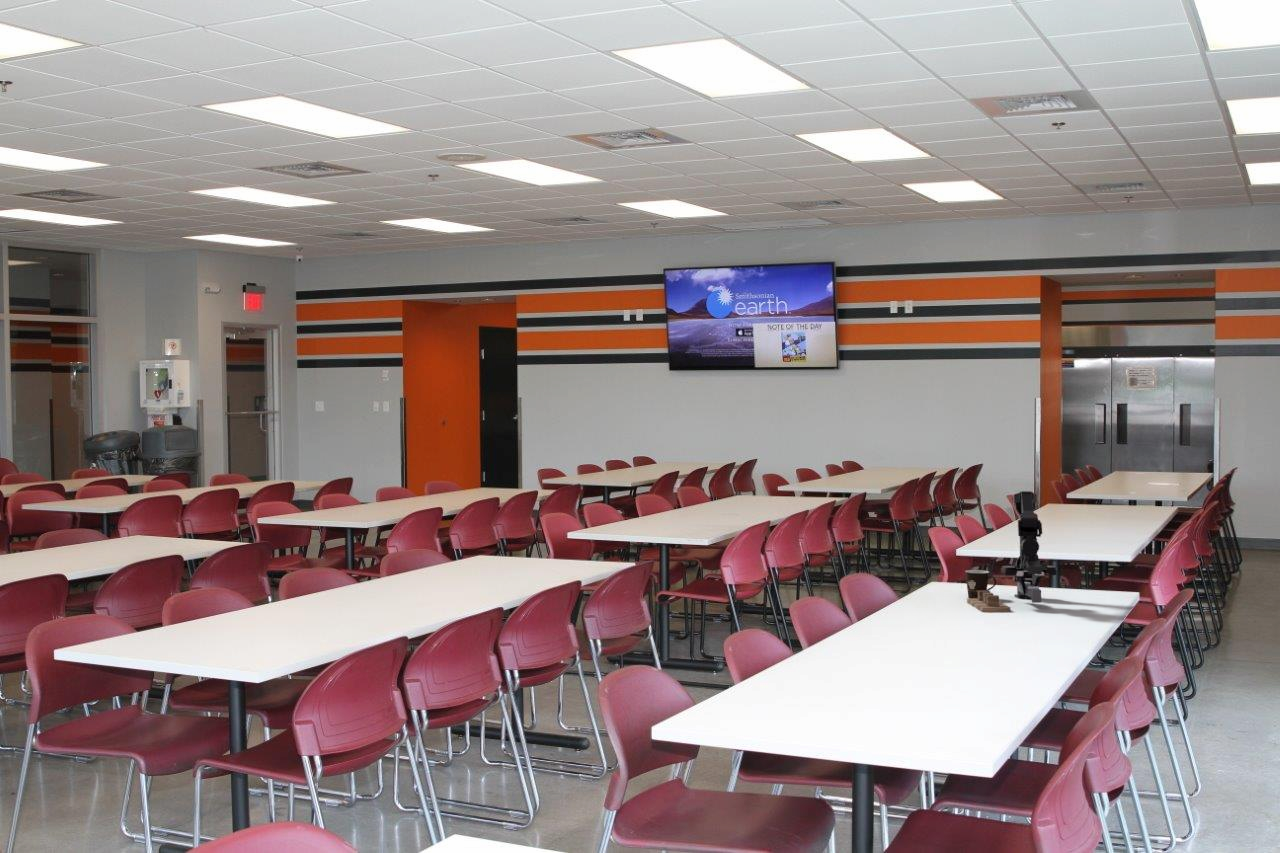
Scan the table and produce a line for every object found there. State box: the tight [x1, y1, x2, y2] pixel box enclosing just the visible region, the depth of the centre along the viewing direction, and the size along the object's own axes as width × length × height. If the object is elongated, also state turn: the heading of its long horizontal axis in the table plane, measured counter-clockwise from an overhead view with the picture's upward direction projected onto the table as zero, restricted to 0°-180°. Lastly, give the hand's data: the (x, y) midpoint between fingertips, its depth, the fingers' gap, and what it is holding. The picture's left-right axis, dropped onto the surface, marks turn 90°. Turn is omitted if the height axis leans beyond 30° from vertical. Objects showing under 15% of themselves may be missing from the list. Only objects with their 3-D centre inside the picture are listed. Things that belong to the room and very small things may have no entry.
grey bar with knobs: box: [1016, 582, 1042, 604], centre depth 441 cm, size 18×4×5 cm, turn 0°
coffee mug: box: [964, 569, 997, 599], centre depth 459 cm, size 12×9×10 cm
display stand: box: [966, 590, 1011, 613], centre depth 440 cm, size 20×10×5 cm, turn 0°
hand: (1028, 594), depth 441 cm, fingers closed on grey bar with knobs, 3 cm apart
